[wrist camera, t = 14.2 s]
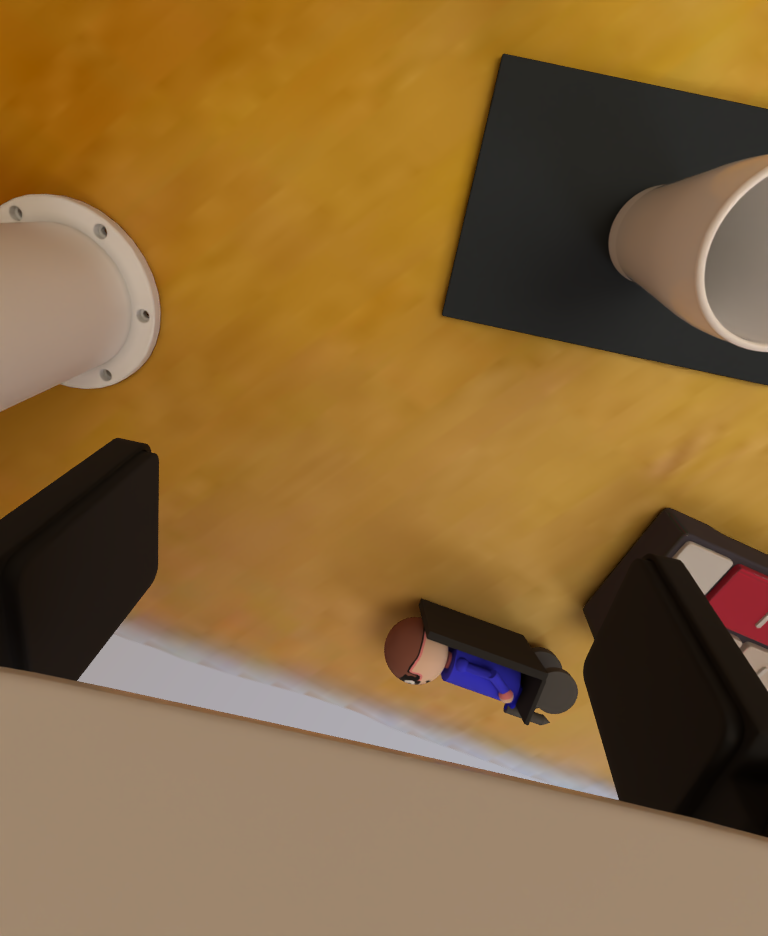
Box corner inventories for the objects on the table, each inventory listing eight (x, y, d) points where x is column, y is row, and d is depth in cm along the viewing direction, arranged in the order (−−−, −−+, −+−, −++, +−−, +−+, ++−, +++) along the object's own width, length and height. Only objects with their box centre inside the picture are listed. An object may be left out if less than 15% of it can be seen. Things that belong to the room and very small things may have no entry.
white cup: (740, 196, 31) (964, 191, 18) (672, 312, 34) (820, 382, 21) (631, 151, 31) (775, 110, 17) (572, 271, 34) (656, 316, 20)
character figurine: (538, 682, 49) (382, 622, 48) (581, 630, 46) (414, 564, 45) (548, 766, 43) (368, 698, 42) (600, 712, 39) (404, 636, 38)
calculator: (759, 715, 43) (595, 649, 41) (731, 672, 47) (580, 610, 45) (870, 618, 39) (691, 538, 36) (829, 579, 42) (665, 504, 40)
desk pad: (441, 314, 36) (441, 315, 36) (502, 55, 30) (502, 53, 30) (772, 384, 36) (777, 387, 36) (901, 139, 30) (909, 138, 29)
